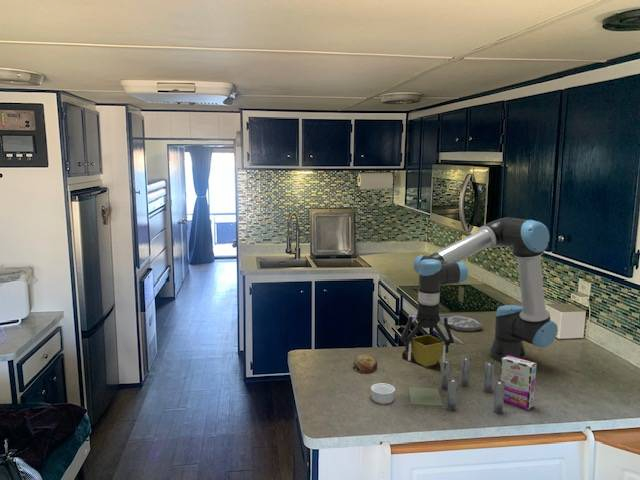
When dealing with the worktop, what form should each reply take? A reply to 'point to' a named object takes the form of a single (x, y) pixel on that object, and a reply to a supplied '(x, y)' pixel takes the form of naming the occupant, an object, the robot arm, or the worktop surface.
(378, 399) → the ramekin
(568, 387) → the worktop surface
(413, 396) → the pad
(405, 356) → the brown wood log
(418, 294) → the robot arm
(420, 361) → the flower pot
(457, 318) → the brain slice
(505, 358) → the candy bar box
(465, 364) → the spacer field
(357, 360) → the bread roll
